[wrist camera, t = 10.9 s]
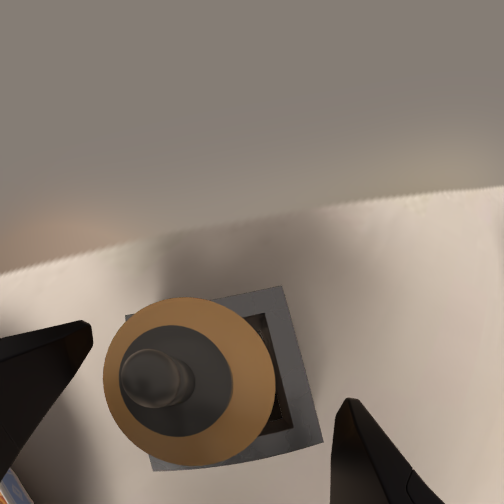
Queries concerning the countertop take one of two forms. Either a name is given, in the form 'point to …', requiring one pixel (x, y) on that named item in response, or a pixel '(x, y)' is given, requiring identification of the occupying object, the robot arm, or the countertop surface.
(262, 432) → the grey square open block
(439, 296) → the countertop surface
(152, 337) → the plug
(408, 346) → the countertop surface
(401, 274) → the countertop surface
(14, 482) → the ramen bowl
